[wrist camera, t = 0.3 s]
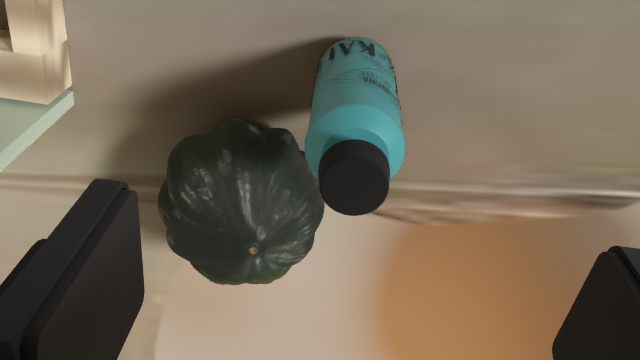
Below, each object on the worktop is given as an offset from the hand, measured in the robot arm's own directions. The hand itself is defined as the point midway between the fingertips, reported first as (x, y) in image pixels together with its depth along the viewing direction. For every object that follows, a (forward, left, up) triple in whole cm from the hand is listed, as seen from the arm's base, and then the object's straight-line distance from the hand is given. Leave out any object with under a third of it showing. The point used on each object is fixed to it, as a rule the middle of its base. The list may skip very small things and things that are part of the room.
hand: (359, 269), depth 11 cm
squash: (+20, -6, -36) cm, 42 cm away
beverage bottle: (+8, +2, -36) cm, 37 cm away
